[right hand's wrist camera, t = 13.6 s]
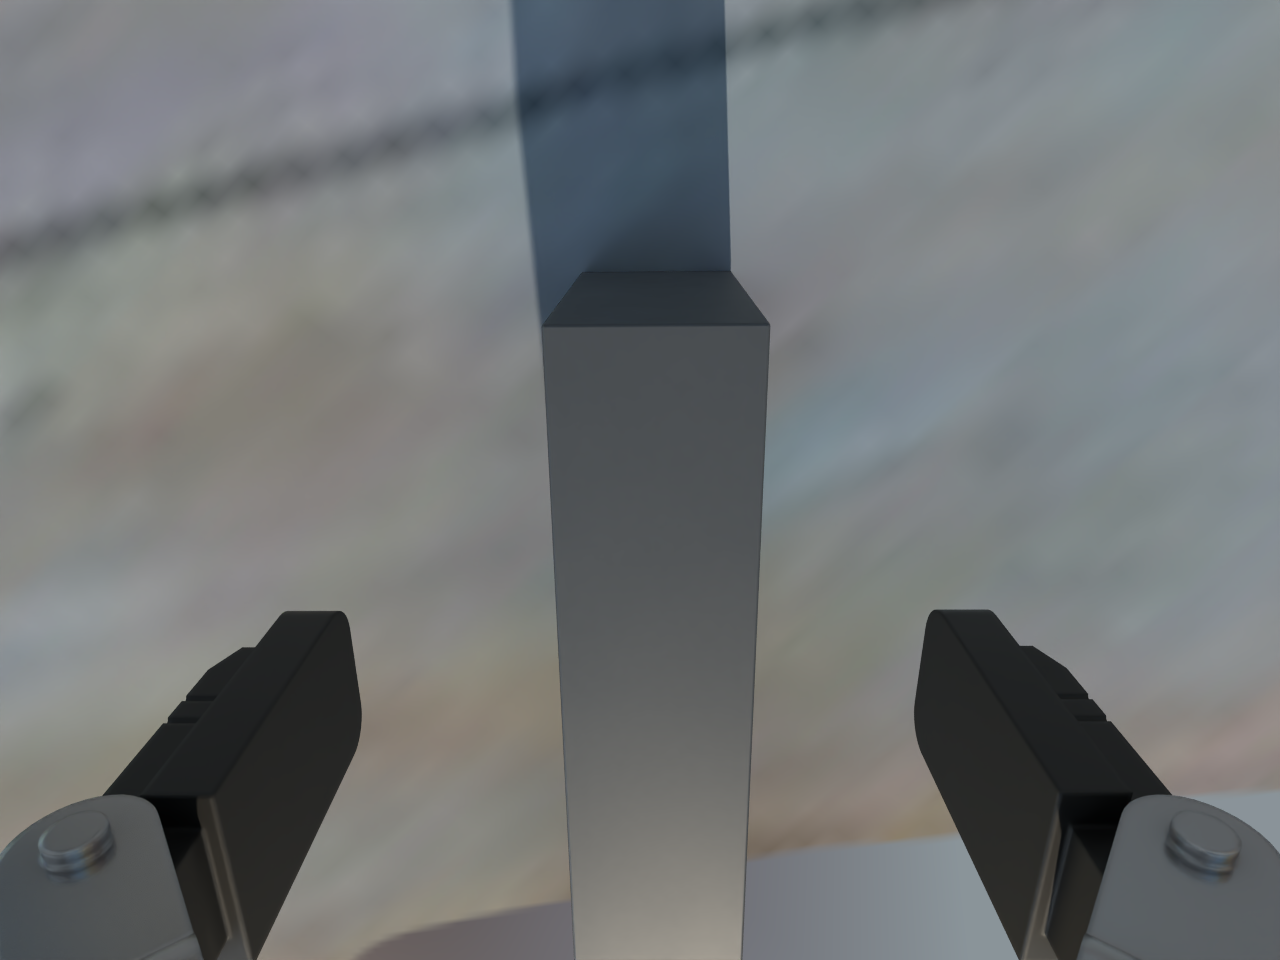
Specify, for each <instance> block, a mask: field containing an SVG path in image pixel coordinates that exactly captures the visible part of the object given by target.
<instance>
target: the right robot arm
mask: <svg viewBox="0 0 1280 960" xmlns="http://www.w3.org/2000/svg"><path fill="white" fill-rule="evenodd" d="M361 721H362V711H361V701H360V694H359V687H358V680H357V673H356V667H355V660H354V653H353V646H352V639H351V633H350V627H349V622H348V619H347V617H346V615H345V614H344V613H343V612H342V611H286V612H284V613H282V614H281V615H280V616H279V618H278V619H277V620H276V622H275V623H274V624H273V625H272V627H271V628H270V629H269V630H268V632H267V633H266V634H265V636H264V637H263V638H262V639H261V641H260V642H259V643H258V645H257V646H256V647H242V648H241V649H239V650H238V651H236V652H235V653H233V654H232V655H230V656H229V657H227V658H226V659H224V660H223V661H221V662H219V663H218V664H216V665H215V666H213V667H212V668H210V669H209V670H208V671H207V672H206V673H205V674H204V675H203V677H202V678H201V679H200V680H199V681H198V683H197V684H196V685H195V686H194V687H193V689H192V690H191V691H190V692H189V693H188V694H187V696H186V701H182V702H181V703H180V704H179V705H178V706H177V708H176V709H175V710H174V711H173V712H172V714H171V715H170V716H169V717H168V722H167V723H163V724H162V725H161V727H160V728H159V729H158V730H157V731H156V733H155V734H154V735H153V736H152V737H151V739H150V740H149V741H148V742H147V743H146V744H145V746H144V747H143V748H142V749H141V750H140V752H139V753H138V754H137V755H136V756H135V758H134V759H133V760H132V761H131V762H130V764H129V765H128V766H127V767H126V768H125V769H124V771H123V772H122V773H121V774H120V775H119V777H118V778H117V779H116V780H115V781H114V783H113V784H112V785H111V786H110V787H109V789H108V790H107V791H106V792H105V793H104V794H103V796H100V797H95V798H91V799H86V800H83V801H80V802H77V803H74V804H71V805H69V806H66V807H64V808H61V809H59V810H57V811H55V812H53V813H51V814H49V815H47V816H45V817H43V818H42V819H40V820H38V821H37V822H35V823H34V824H32V825H31V826H29V827H28V828H27V829H25V830H24V831H23V832H21V833H20V834H19V835H18V836H17V837H15V838H14V839H13V840H12V841H11V842H10V843H9V844H8V845H7V846H6V848H5V849H4V850H3V851H2V852H1V854H0V960H257V957H258V955H259V953H260V951H261V949H262V947H263V945H264V943H265V941H266V939H267V937H268V934H269V932H270V930H271V928H272V926H273V924H274V922H275V920H276V918H277V916H278V913H279V911H280V909H281V907H282V905H283V903H284V901H285V899H286V897H287V895H288V893H289V890H290V888H291V886H292V884H293V882H294V880H295V878H296V876H297V874H298V872H299V869H300V867H301V865H302V863H303V861H304V859H305V857H306V855H307V853H308V851H309V848H310V846H311V844H312V842H313V840H314V838H315V836H316V834H317V832H318V830H319V828H320V825H321V823H322V821H323V819H324V817H325V815H326V813H327V811H328V809H329V807H330V804H331V802H332V800H333V798H334V796H335V794H336V792H337V790H338V788H339V786H340V784H341V781H342V779H343V777H344V775H345V773H346V771H347V769H348V767H349V765H350V763H351V760H352V758H353V756H354V754H355V752H356V749H357V746H358V742H359V737H360V731H361ZM914 721H915V731H916V736H917V741H918V745H919V748H920V751H921V753H922V755H923V757H924V759H925V762H926V764H927V766H928V768H929V770H930V772H931V774H932V776H933V778H934V781H935V783H936V785H937V787H938V789H939V791H940V793H941V795H942V798H943V800H944V802H945V804H946V806H947V808H948V810H949V812H950V815H951V817H952V819H953V821H954V823H955V825H956V827H957V829H958V832H959V834H960V836H961V838H962V840H963V842H964V844H965V846H966V849H967V851H968V853H969V855H970V857H971V859H972V861H973V863H974V865H975V868H976V870H977V872H978V874H979V876H980V878H981V880H982V882H983V885H984V887H985V889H986V891H987V893H988V895H989V897H990V899H991V902H992V904H993V906H994V908H995V910H996V912H997V914H998V916H999V919H1000V921H1001V923H1002V925H1003V927H1004V929H1005V931H1006V933H1007V935H1008V938H1009V940H1010V942H1011V944H1012V946H1013V948H1014V950H1015V952H1016V955H1017V957H1018V959H1019V960H1280V854H1279V852H1278V851H1277V850H1276V849H1275V848H1274V846H1273V845H1272V844H1271V843H1270V842H1269V841H1268V840H1267V839H1266V838H1264V837H1263V836H1262V835H1261V834H1260V833H1259V832H1257V831H1256V830H1255V829H1253V828H1252V827H1251V826H1249V825H1248V824H1246V823H1245V822H1243V821H1242V820H1240V819H1238V818H1237V817H1235V816H1233V815H1231V814H1229V813H1227V812H1225V811H1223V810H1221V809H1219V808H1216V807H1214V806H1211V805H1209V804H1206V803H1203V802H1200V801H1197V800H1194V799H1189V798H1185V797H1180V796H1173V795H1172V794H1171V793H1170V792H1169V791H1168V789H1167V788H1166V787H1165V786H1164V785H1163V783H1162V782H1161V781H1160V780H1159V779H1158V777H1157V776H1156V775H1155V774H1154V773H1153V771H1152V770H1151V769H1150V768H1149V767H1148V765H1147V764H1146V763H1145V762H1144V761H1143V759H1142V758H1141V757H1140V756H1139V755H1138V753H1137V752H1136V751H1135V750H1134V749H1133V747H1132V746H1131V745H1130V744H1129V743H1128V741H1127V740H1126V739H1125V738H1124V737H1123V735H1122V734H1121V733H1120V732H1119V731H1118V729H1117V728H1116V727H1115V726H1114V725H1113V723H1112V722H1111V721H1107V720H1106V715H1105V714H1104V713H1103V711H1102V710H1101V709H1100V708H1099V707H1098V705H1097V704H1096V703H1095V702H1094V701H1093V699H1089V698H1088V693H1087V692H1086V691H1085V690H1084V689H1083V687H1082V686H1081V685H1080V684H1079V683H1078V681H1077V680H1076V679H1075V678H1074V677H1073V675H1072V674H1071V673H1070V672H1069V671H1068V669H1067V668H1066V667H1064V666H1062V665H1061V664H1059V663H1058V662H1056V661H1055V660H1053V659H1052V658H1050V657H1049V656H1047V655H1046V654H1044V653H1043V652H1041V651H1040V650H1038V649H1036V648H1035V647H1033V646H1019V644H1018V643H1017V642H1016V641H1015V639H1014V638H1013V637H1012V635H1011V634H1010V633H1009V632H1008V630H1007V629H1006V628H1005V626H1004V625H1003V624H1002V623H1001V621H1000V620H999V619H998V617H997V616H996V615H995V614H994V613H993V612H992V611H990V610H933V611H932V612H931V613H930V615H929V617H928V620H927V623H926V629H925V636H924V643H923V649H922V656H921V663H920V670H919V677H918V684H917V691H916V698H915V706H914Z"/></svg>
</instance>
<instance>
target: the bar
mask: <svg viewBox="0 0 1280 960" xmlns="http://www.w3.org/2000/svg"><path fill="white" fill-rule="evenodd" d="M542 341H543V360H544V379H545V399H546V418H547V438H548V457H549V477H550V496H551V516H552V535H553V555H554V574H555V594H556V613H557V633H558V652H559V672H560V691H561V711H562V730H563V750H564V769H565V789H566V808H567V828H568V847H569V867H570V886H571V906H572V925H573V945H574V960H742V953H743V930H744V907H745V884H746V862H747V840H748V817H749V794H750V772H751V749H752V727H753V704H754V681H755V659H756V636H757V614H758V591H759V568H760V546H761V523H762V500H763V478H764V455H765V433H766V410H767V387H768V365H769V342H770V324H769V322H768V321H767V320H766V318H765V317H764V316H763V314H762V313H761V312H760V310H759V309H758V308H757V306H756V305H755V303H754V302H753V301H752V299H751V298H750V297H749V295H748V294H747V293H746V291H745V290H744V289H743V287H742V286H741V285H740V283H739V282H738V280H737V279H736V278H735V276H734V275H733V274H732V272H731V271H680V272H582V273H581V274H580V276H579V277H578V278H577V280H576V281H575V282H574V284H573V285H572V286H571V288H570V289H569V290H568V292H567V293H566V294H565V296H564V297H563V298H562V300H561V301H560V303H559V304H558V305H557V307H556V308H555V309H554V311H553V312H552V313H551V315H550V316H549V317H548V319H547V320H546V321H545V323H544V324H543V325H542Z"/></svg>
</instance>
